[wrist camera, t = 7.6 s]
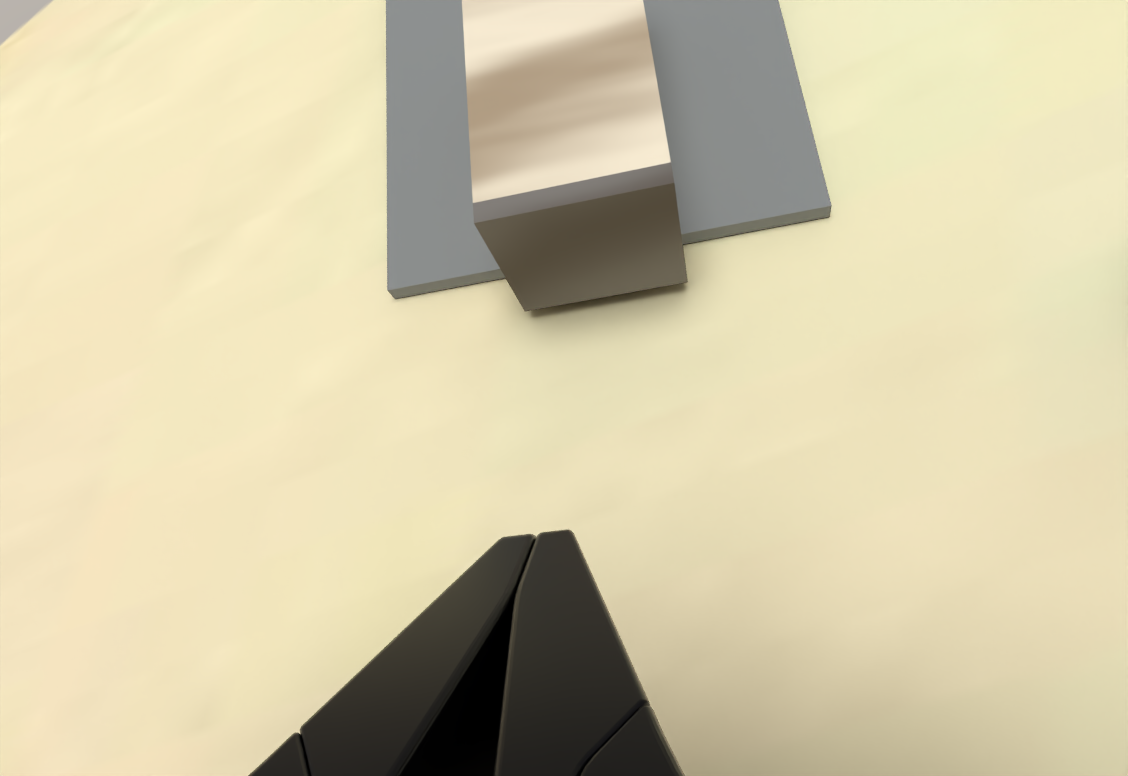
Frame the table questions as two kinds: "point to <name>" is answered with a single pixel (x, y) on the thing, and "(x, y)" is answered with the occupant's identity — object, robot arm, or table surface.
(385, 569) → the table surface
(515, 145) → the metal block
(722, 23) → the mat
